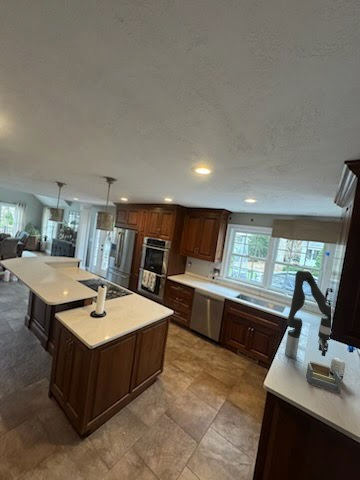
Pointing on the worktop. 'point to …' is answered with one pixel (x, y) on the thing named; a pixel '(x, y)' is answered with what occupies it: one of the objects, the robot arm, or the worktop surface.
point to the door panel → (320, 369)
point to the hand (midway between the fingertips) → (321, 353)
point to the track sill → (324, 380)
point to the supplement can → (337, 367)
